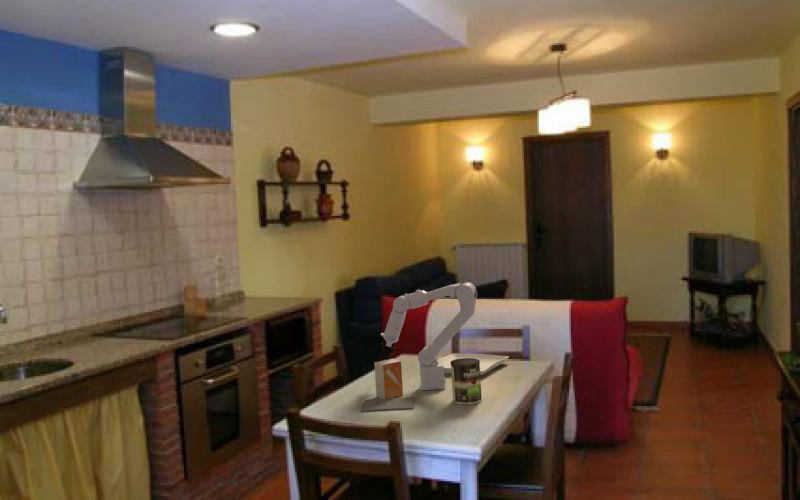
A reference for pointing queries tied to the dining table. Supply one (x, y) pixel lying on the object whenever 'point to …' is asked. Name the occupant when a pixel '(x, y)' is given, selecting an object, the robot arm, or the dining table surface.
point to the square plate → (485, 360)
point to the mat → (387, 404)
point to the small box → (388, 378)
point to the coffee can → (466, 381)
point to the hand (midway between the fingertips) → (383, 358)
